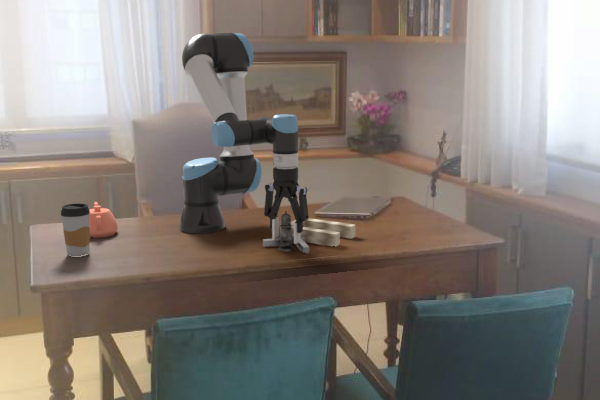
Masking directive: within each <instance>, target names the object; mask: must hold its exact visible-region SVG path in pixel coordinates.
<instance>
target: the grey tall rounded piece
mask: <svg viewBox="0 0 600 400" xmlns="http://www.w3.org/2000/svg"><path fill="white" fill-rule="evenodd" d="M280 219H281V220H280V222H281V223H280V224H279V227H280V226H281V230H280V234H279V236H278V237H277V239H278V243H279V244H280V245H281V246H278V247H277V250H278V251H279V250H280V251H281V252H292V250H293V251H295V250H294V249H296V248H295V246H293V245H295V244H294V236H292V234H291V226H292V225H291V222H292V221H291V219H292V218H291V214H289V213H288V212H287V210H285V211H284V213H283V214H281V217H280Z"/></svg>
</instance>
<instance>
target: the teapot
mask: <svg viewBox="0 0 600 400" xmlns="http://www.w3.org/2000/svg"><path fill="white" fill-rule="evenodd" d="M93 205H94V206H93V208H89V211H90V213H89V227H90V237H93V238H92V239H100V238H99V237H102V238H109V237H111V236H114V235H116V233H117V231H118V229H119V228H118V222H117V219H116V218H115V216H114V214H113V213H112V211H111V210H110V209H109V208H104V207H102V206H101V205H99V203H98V202H97V201H94V203H93Z"/></svg>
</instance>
